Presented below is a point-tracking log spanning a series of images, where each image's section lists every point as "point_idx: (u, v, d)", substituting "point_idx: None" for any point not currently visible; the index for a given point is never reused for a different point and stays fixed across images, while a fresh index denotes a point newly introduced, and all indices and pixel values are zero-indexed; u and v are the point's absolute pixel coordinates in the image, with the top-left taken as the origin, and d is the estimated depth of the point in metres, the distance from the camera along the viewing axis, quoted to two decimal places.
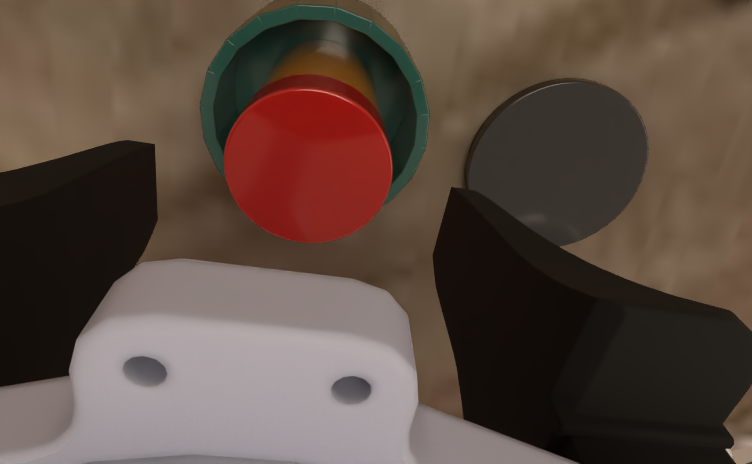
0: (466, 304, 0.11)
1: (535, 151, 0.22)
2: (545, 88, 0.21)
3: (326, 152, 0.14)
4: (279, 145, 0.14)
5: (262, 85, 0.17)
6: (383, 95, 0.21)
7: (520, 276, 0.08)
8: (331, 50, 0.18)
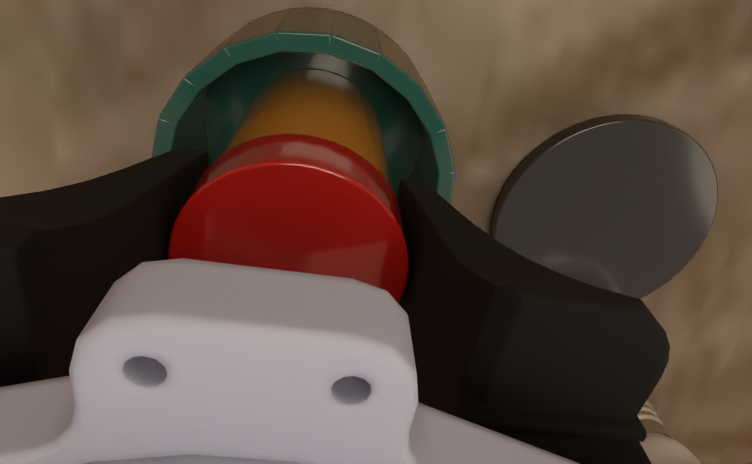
0: (407, 297, 0.11)
1: (579, 203, 0.18)
2: (595, 128, 0.17)
3: (314, 247, 0.10)
4: (247, 238, 0.10)
5: (232, 136, 0.13)
6: (392, 137, 0.17)
7: (445, 267, 0.08)
8: (325, 86, 0.14)
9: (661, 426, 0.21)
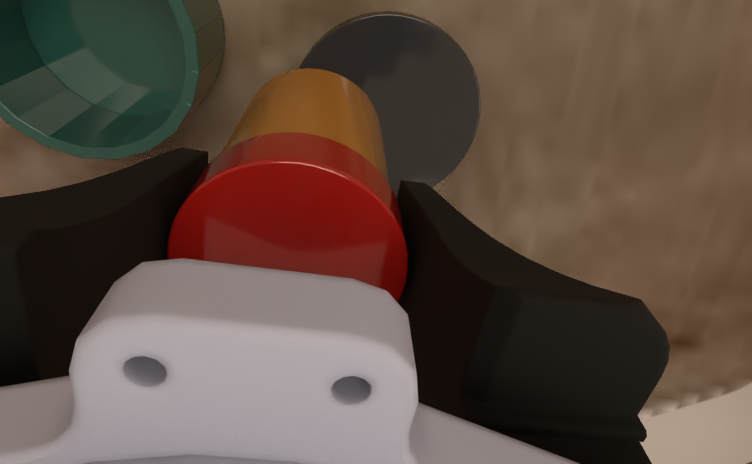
0: (407, 297, 0.11)
1: None
2: (357, 20, 0.20)
3: (314, 245, 0.10)
4: (246, 237, 0.10)
5: (231, 135, 0.13)
6: None
7: (445, 267, 0.08)
8: (324, 85, 0.14)
9: None
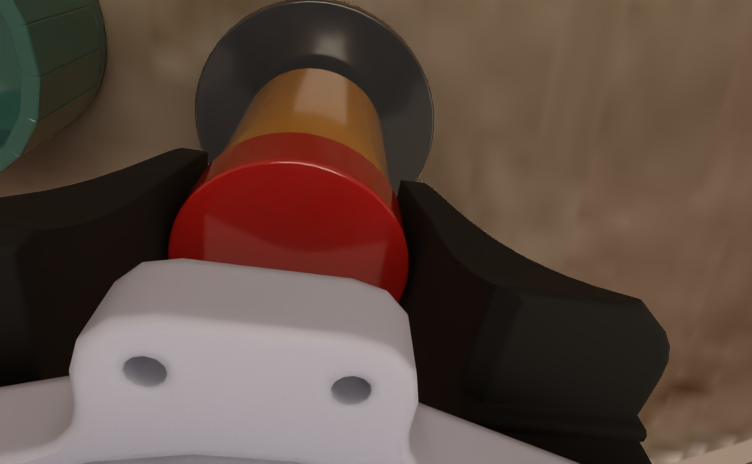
0: (407, 297, 0.11)
1: None
2: (269, 9, 0.16)
3: (315, 245, 0.10)
4: (247, 237, 0.10)
5: (232, 135, 0.13)
6: None
7: (445, 267, 0.08)
8: (325, 85, 0.14)
9: None
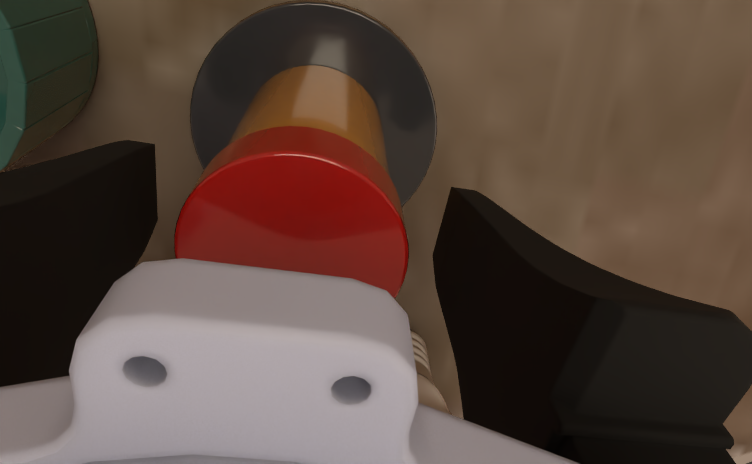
0: (466, 304, 0.11)
1: None
2: (267, 12, 0.15)
3: (317, 236, 0.10)
4: (251, 228, 0.10)
5: (235, 130, 0.13)
6: None
7: (520, 276, 0.08)
8: (326, 81, 0.14)
9: (416, 364, 0.20)
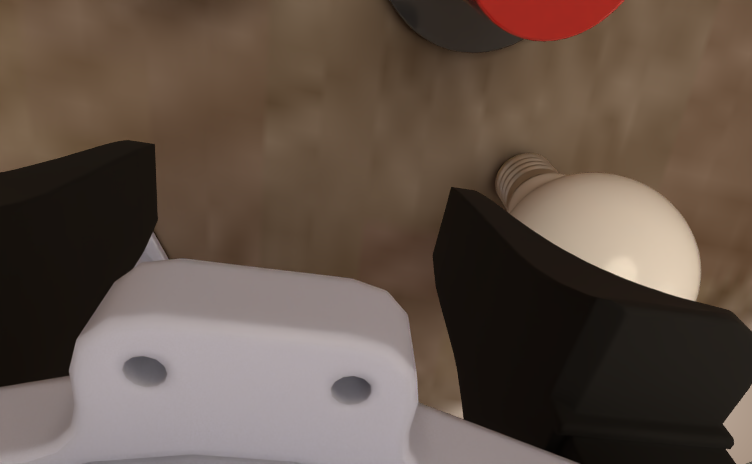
0: (466, 304, 0.11)
1: None
2: None
3: None
4: None
5: None
6: None
7: (520, 276, 0.08)
8: None
9: (558, 173, 0.21)
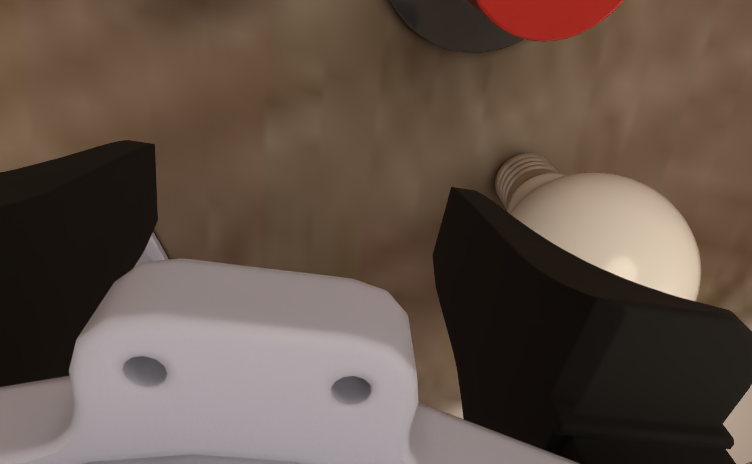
0: (466, 304, 0.11)
1: None
2: None
3: None
4: None
5: None
6: None
7: (520, 276, 0.08)
8: None
9: (557, 173, 0.21)
